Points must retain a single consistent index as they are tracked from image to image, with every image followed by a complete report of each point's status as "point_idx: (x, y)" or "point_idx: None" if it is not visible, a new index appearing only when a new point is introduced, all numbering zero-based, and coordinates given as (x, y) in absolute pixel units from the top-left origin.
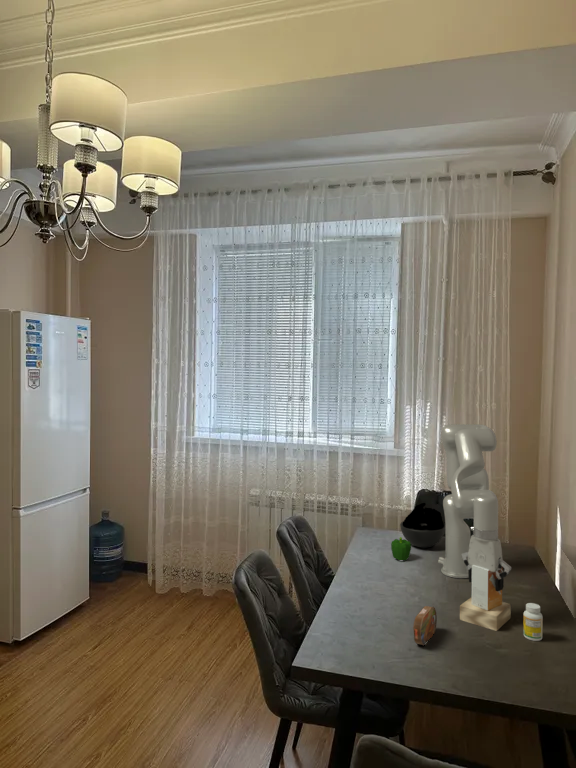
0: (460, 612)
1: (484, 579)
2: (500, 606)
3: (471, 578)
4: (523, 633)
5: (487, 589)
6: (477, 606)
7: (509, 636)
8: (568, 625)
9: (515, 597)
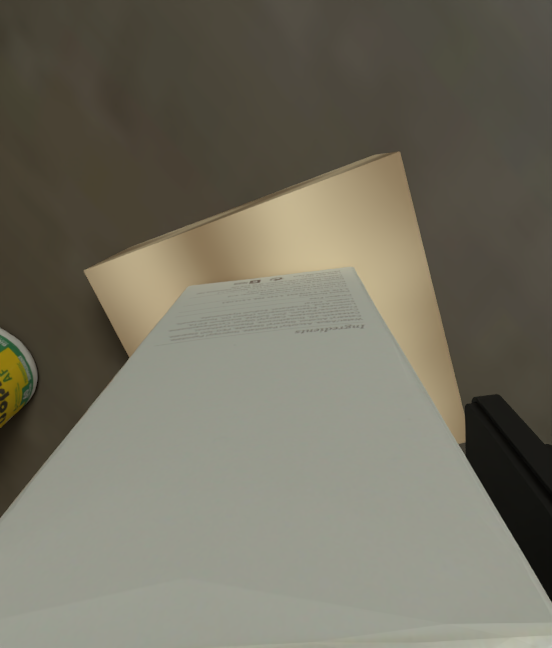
0: (380, 155)
1: (124, 440)
2: None
3: (486, 441)
4: (10, 340)
5: (125, 366)
6: (289, 274)
7: (39, 258)
8: None
9: None
